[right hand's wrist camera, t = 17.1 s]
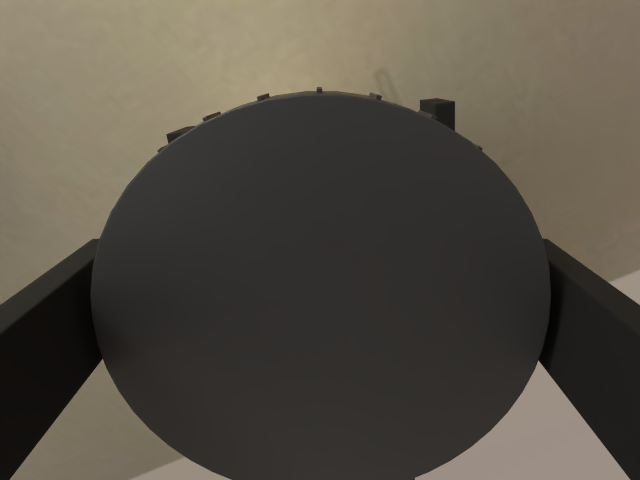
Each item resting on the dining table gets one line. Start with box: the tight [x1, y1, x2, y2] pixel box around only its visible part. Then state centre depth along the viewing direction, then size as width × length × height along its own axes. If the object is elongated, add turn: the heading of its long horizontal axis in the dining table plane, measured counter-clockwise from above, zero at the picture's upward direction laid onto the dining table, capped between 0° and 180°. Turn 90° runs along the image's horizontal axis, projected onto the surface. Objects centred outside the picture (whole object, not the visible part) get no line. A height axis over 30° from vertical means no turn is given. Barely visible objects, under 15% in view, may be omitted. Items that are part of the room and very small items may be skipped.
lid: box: [91, 87, 551, 480], centre depth 11 cm, size 11×11×2 cm
